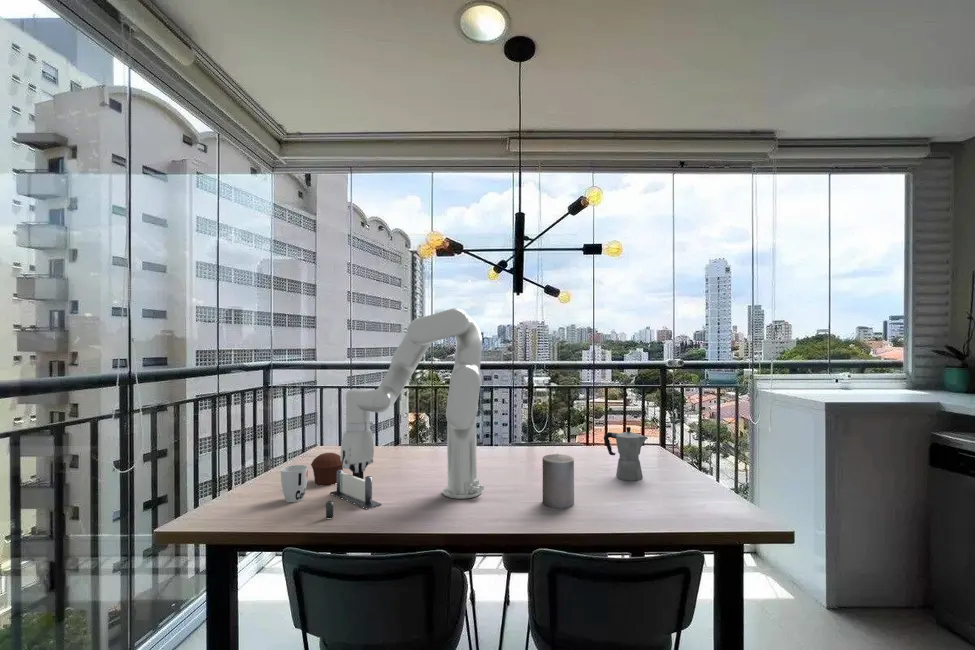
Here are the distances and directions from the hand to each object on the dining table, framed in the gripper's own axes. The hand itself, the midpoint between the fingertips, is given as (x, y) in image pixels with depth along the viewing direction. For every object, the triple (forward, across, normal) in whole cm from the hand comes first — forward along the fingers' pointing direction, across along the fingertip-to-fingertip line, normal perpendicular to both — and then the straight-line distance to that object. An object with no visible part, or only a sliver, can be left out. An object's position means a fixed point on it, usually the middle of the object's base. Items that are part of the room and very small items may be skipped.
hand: (358, 483), depth 159 cm
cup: (+4, +16, -11) cm, 20 cm away
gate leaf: (+3, +3, +2) cm, 5 cm away
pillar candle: (+4, -37, +52) cm, 65 cm away
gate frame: (+4, +9, +3) cm, 10 cm away
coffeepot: (+4, -76, +54) cm, 94 cm away
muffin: (+4, -1, -21) cm, 22 cm away
